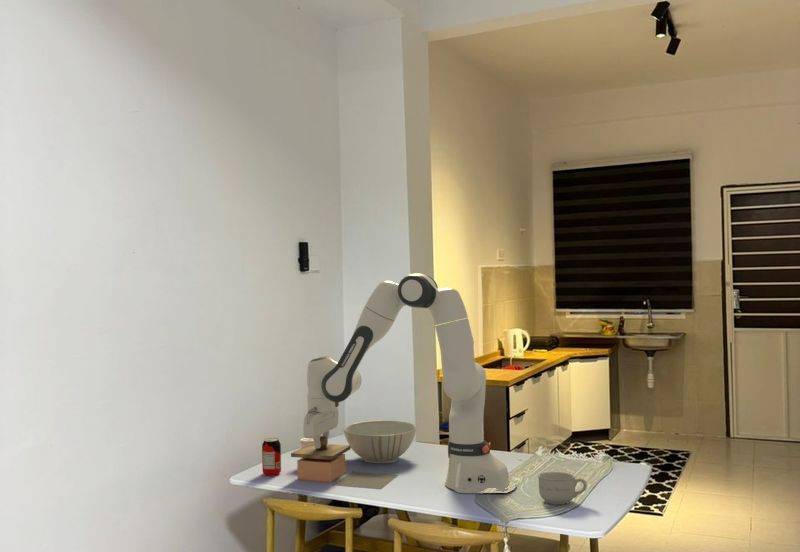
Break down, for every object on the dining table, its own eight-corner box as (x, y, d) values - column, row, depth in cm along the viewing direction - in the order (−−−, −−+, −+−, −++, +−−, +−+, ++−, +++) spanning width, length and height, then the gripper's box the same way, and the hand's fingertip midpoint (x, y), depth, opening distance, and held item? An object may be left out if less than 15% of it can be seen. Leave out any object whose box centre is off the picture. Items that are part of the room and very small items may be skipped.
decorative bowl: (391, 474, 243) (391, 438, 243) (329, 464, 257) (328, 431, 258) (430, 456, 266) (429, 424, 266) (370, 448, 280) (370, 417, 280)
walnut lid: (350, 449, 245) (350, 433, 245) (332, 459, 230) (332, 443, 230) (311, 446, 249) (310, 431, 249) (291, 456, 235) (290, 441, 235)
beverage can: (285, 473, 247) (284, 438, 247) (272, 477, 242) (271, 442, 242) (271, 470, 250) (271, 436, 250) (258, 475, 245) (258, 440, 245)
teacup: (532, 504, 209) (532, 476, 209) (547, 494, 218) (546, 468, 218) (579, 511, 201) (578, 483, 201) (591, 501, 210) (591, 474, 210)
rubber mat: (398, 476, 240) (398, 474, 240) (381, 491, 224) (381, 489, 224) (352, 472, 245) (352, 471, 245) (331, 486, 229) (331, 485, 229)
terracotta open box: (345, 474, 244) (345, 454, 244) (330, 484, 232) (330, 462, 232) (313, 472, 248) (313, 451, 248) (297, 481, 236) (297, 460, 236)
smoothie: (315, 468, 252) (314, 429, 252) (298, 468, 253) (297, 428, 253) (320, 464, 258) (320, 425, 258) (304, 463, 260) (303, 425, 260)
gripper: (315, 411, 229) (316, 454, 229) (341, 400, 248) (342, 440, 248) (298, 410, 231) (298, 452, 231) (324, 399, 251) (325, 439, 250)
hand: (321, 446), depth 240 cm, fingers closed on walnut lid, 3 cm apart
